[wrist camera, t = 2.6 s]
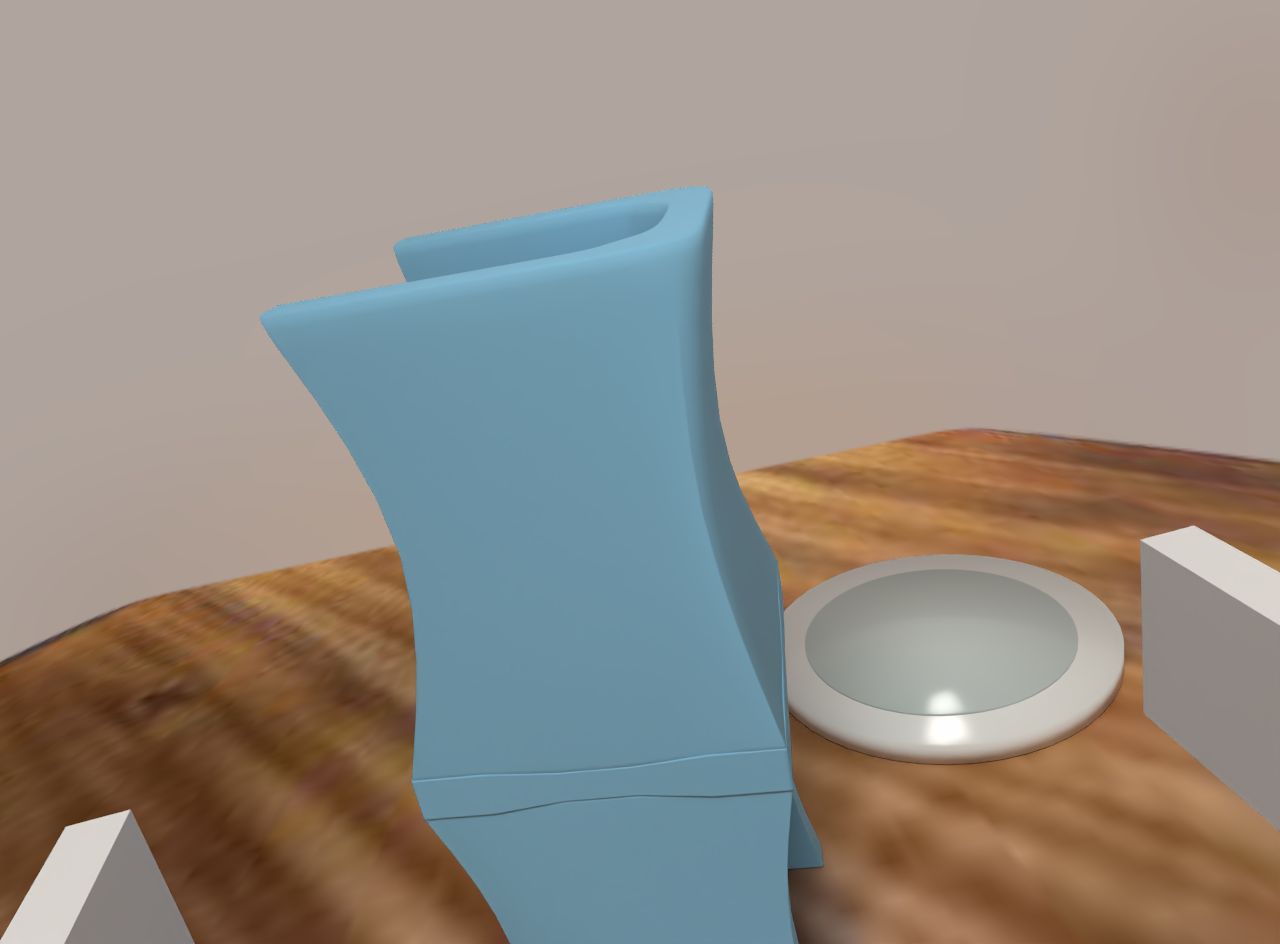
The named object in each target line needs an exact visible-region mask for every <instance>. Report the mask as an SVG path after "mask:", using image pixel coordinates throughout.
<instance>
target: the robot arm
mask: <svg viewBox="0 0 1280 944" xmlns="http://www.w3.org/2000/svg"><path fill="white" fill-rule="evenodd" d="M1140 545H1141V597H1142V650H1143V702H1144V714H1145V715H1146V716H1147V717H1148V718H1149V719H1150V720H1152V721H1153V722H1154V723H1155V724H1156V725H1157V726H1159V727H1160V728H1161V729H1162V730H1163V731H1164V732H1165V733H1167V734H1168V735H1169V736H1170V737H1171V738H1172V739H1174V740H1175V741H1176V742H1177V743H1178V744H1179V745H1180V746H1182V747H1183V748H1184V749H1185V750H1186V751H1187V752H1189V753H1190V754H1191V755H1192V756H1193V757H1194V758H1195V759H1197V760H1198V761H1199V762H1200V763H1201V764H1202V765H1204V766H1205V767H1206V768H1207V769H1208V770H1209V771H1210V772H1212V773H1213V774H1214V775H1215V776H1216V777H1217V778H1219V779H1220V780H1221V781H1222V782H1223V783H1224V784H1225V785H1227V786H1228V787H1229V788H1230V789H1231V790H1232V791H1234V792H1235V793H1236V794H1237V795H1238V796H1239V797H1240V798H1242V799H1243V800H1244V801H1245V802H1246V803H1247V804H1248V805H1250V806H1251V807H1252V808H1253V809H1254V810H1255V811H1257V812H1258V813H1259V814H1260V815H1261V816H1262V817H1263V818H1265V819H1266V820H1267V821H1268V822H1269V823H1270V824H1272V825H1273V826H1274V827H1275V828H1276V829H1277V830H1278V831H1280V573H1279V572H1278V571H1276V570H1274V569H1272V568H1270V567H1269V566H1267V565H1265V564H1263V563H1261V562H1259V561H1258V560H1256V559H1254V558H1252V557H1250V556H1248V555H1247V554H1245V553H1243V552H1241V551H1239V550H1238V549H1236V548H1234V547H1232V546H1230V545H1228V544H1227V543H1225V542H1223V541H1221V540H1219V539H1217V538H1216V537H1214V536H1212V535H1210V534H1208V533H1207V532H1205V531H1203V530H1201V529H1199V528H1197V527H1196V526H1191V527H1187V528H1183V529H1180V530H1176V531H1172V532H1168V533H1165V534H1161V535H1157V536H1153V537H1150V538H1146V539H1142V540H1140ZM0 944H195V943H194V941H193V939H192V937H191V935H190V932H189V930H188V928H187V926H186V924H185V922H184V920H183V918H182V916H181V914H180V912H179V910H178V907H177V905H176V903H175V901H174V899H173V897H172V895H171V893H170V891H169V889H168V887H167V884H166V882H165V880H164V878H163V876H162V874H161V872H160V870H159V868H158V866H157V864H156V861H155V859H154V857H153V855H152V853H151V851H150V849H149V847H148V845H147V843H146V841H145V838H144V836H143V834H142V832H141V830H140V828H139V826H138V824H137V822H136V820H135V818H134V815H133V813H132V811H131V809H130V810H127V811H123V812H119V813H115V814H112V815H108V816H104V817H100V818H97V819H93V820H89V821H85V822H82V823H78V824H74V825H70V826H67V827H65V829H64V831H63V832H62V834H61V836H60V838H59V839H58V841H57V843H56V845H55V846H54V848H53V850H52V852H51V853H50V855H49V857H48V859H47V860H46V862H45V864H44V866H43V867H42V869H41V871H40V872H39V874H38V876H37V878H36V879H35V881H34V883H33V885H32V886H31V888H30V890H29V892H28V893H27V895H26V897H25V899H24V900H23V902H22V904H21V905H20V907H19V909H18V911H17V912H16V914H15V916H14V918H13V919H12V921H11V923H10V925H9V926H8V928H7V930H6V932H5V933H4V935H3V937H2V938H1V940H0Z"/></svg>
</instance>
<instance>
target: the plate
mask: <svg viewBox="0 0 1280 944" xmlns="http://www.w3.org/2000/svg"><path fill="white" fill-rule="evenodd" d="M784 631H785V658H786V676H787V694H788V708H789V712H790V713H791V714H792V715H793V716H794V717H795V718H796V719H797V720H798V721H799V722H801V723H802V724H803V725H805V726H806V727H807V728H809V729H810V730H812V731H813V732H815V733H817V734H819V735H820V736H822V737H824V738H826V739H827V740H830V741H832V742H834V743H837V744H839V745H841V746H844V747H846V748H849V749H852V750H855V751H858V752H861V753H865V754H868V755H872V756H876V757H881V758H886V759H891V760H896V761H904V762H912V763H921V764H967V763H979V762H987V761H994V760H1001V759H1006V758H1010V757H1015V756H1019V755H1023V754H1027V753H1030V752H1033V751H1036V750H1039V749H1042V748H1045V747H1048V746H1051V745H1053V744H1055V743H1057V742H1060V741H1062V740H1064V739H1066V738H1068V737H1071V736H1072V735H1074V734H1075V733H1077V732H1079V731H1080V730H1082V729H1083V728H1085V727H1087V726H1088V725H1089V724H1091V723H1092V722H1093V721H1094V720H1095V719H1097V718H1098V717H1099V716H1100V715H1101V714H1102V713H1103V712H1104V711H1105V710H1106V709H1107V708H1108V706H1109V705H1110V704H1111V703H1112V702H1113V700H1114V698H1115V697H1116V695H1117V693H1118V691H1119V689H1120V687H1121V684H1122V680H1123V676H1124V639H1123V635H1122V631H1121V628H1120V626H1119V624H1118V622H1117V620H1116V618H1115V616H1114V615H1113V614H1112V612H1111V611H1110V610H1109V609H1108V608H1107V606H1106V605H1105V604H1104V603H1103V602H1102V601H1101V600H1099V599H1098V598H1097V597H1096V596H1095V595H1094V594H1092V593H1091V592H1089V591H1088V590H1086V589H1085V588H1083V587H1082V586H1080V585H1079V584H1077V583H1075V582H1073V581H1071V580H1069V579H1067V578H1065V577H1063V576H1061V575H1058V574H1056V573H1053V572H1051V571H1048V570H1046V569H1042V568H1039V567H1036V566H1033V565H1029V564H1025V563H1021V562H1017V561H1012V560H1007V559H1001V558H994V557H987V556H975V555H954V554H945V555H924V556H913V557H905V558H899V559H892V560H887V561H882V562H878V563H873V564H869V565H866V566H863V567H859V568H856V569H853V570H850V571H847V572H845V573H842V574H839V575H837V576H835V577H832V578H830V579H828V580H826V581H824V582H822V583H820V584H818V585H817V586H815V587H813V588H812V589H810V590H808V591H807V592H805V593H804V594H803V595H801V596H800V597H799V598H797V599H796V600H795V601H794V602H793V603H792V604H791V605H790V606H789V607H788V608H786V609H785V611H784Z"/></svg>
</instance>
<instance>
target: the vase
mask: <svg viewBox="0 0 1280 944" xmlns="http://www.w3.org/2000/svg"><path fill="white" fill-rule="evenodd" d="M712 240H713V196H712V191H711V190H710V189H709V188H708V187H687V188H678V189H670V190H664V191H658V192H652V193H647V194H641V195H635V196H630V197H624V198H619V199H614V200H608V201H603V202H597V203H592V204H587V205H581V206H576V207H570V208H565V209H560V210H554V211H549V212H543V213H538V214H533V215H528V216H523V217H517V218H511V219H506V220H501V221H495V222H490V223H484V224H480V225H474V226H468V227H463V228H458V229H452V230H447V231H441V232H436V233H431V234H426V235H421V236H415V237H410V238H405V239H403V240H401V241H399V242H397V243H395V245H394V251H395V254H396V257H397V260H398V263H399V265H400V267H401V270H402V272H403V274H404V277H405V279H406V281H407V283H401V284H395V285H390V286H384V287H379V288H373V289H368V290H362V291H356V292H351V293H345V294H339V295H334V296H328V297H322V298H317V299H311V300H306V301H300V302H294V303H289V304H283V305H277V306H276V307H274V308H272V309H270V310H268V311H267V312H265V313H262V314H261V317H260V320H261V323H262V325H263V326H264V328H265V330H266V331H267V333H268V335H269V336H270V338H271V339H272V341H273V342H274V343H275V345H276V346H277V348H278V349H279V350H280V352H281V353H282V355H283V356H284V357H285V359H286V360H287V361H288V363H289V364H290V366H291V367H292V368H293V370H294V371H295V373H296V374H297V375H298V377H299V378H300V379H301V381H302V382H303V384H304V385H305V386H306V388H307V389H308V390H309V392H310V393H311V394H312V396H313V397H314V399H315V400H316V401H317V403H318V404H319V406H320V407H321V409H322V410H323V412H324V413H325V415H326V416H327V418H328V419H329V420H330V422H331V424H332V425H333V427H334V428H335V430H336V431H337V433H338V434H339V436H340V437H341V439H342V440H343V442H344V443H345V445H346V446H347V448H348V450H349V451H350V453H351V455H352V457H353V458H354V460H355V462H356V464H357V466H358V467H359V469H360V471H361V473H362V474H363V476H364V478H365V480H366V482H367V484H368V485H369V487H370V489H371V491H372V492H373V494H374V496H375V498H376V500H377V502H378V504H379V506H380V509H381V511H382V514H383V516H384V519H385V521H386V523H387V526H388V528H389V530H390V533H391V535H392V537H393V540H394V542H395V545H396V547H397V550H398V552H399V554H400V557H401V562H402V567H403V571H404V576H405V580H406V585H407V590H408V594H409V599H410V604H411V608H412V614H413V627H414V639H415V651H416V663H417V679H416V723H415V739H414V756H413V774H412V780H411V782H412V785H413V788H414V791H415V794H416V797H417V800H418V803H419V806H420V809H421V812H422V815H423V817H424V820H425V821H427V823H428V824H429V825H430V826H431V828H432V829H433V830H434V831H435V833H436V834H437V835H438V836H439V838H440V839H441V840H442V841H443V843H444V844H445V845H446V846H447V847H448V849H449V850H450V851H451V852H452V854H453V855H454V856H455V857H456V859H457V860H458V861H459V863H460V864H461V865H462V867H463V868H464V869H465V871H466V872H467V873H468V875H469V876H470V877H471V879H472V880H473V881H474V883H475V884H476V885H477V887H478V889H479V890H480V892H481V893H482V895H483V896H484V898H485V899H486V901H487V902H488V904H489V906H490V907H491V909H492V910H493V912H494V913H495V915H496V917H497V919H498V921H499V923H500V925H501V927H502V929H503V931H504V933H505V934H506V936H507V938H508V940H509V942H510V944H799V943H798V939H797V934H796V930H795V926H794V922H793V917H792V913H791V905H790V896H789V887H788V869H795V868H810V867H823V857H822V846H821V843H820V841H819V839H818V837H817V835H816V833H815V831H814V829H813V826H812V824H811V822H810V820H809V818H808V816H807V814H806V812H805V809H804V807H803V805H802V802H801V800H800V798H799V795H798V792H797V789H796V786H795V783H794V780H793V770H792V752H791V736H790V722H789V708H788V694H787V676H786V658H785V631H784V610H783V594H782V587H781V581H780V575H779V568H778V562H777V560H776V558H775V556H774V554H773V552H772V550H771V548H770V547H769V545H768V543H767V541H766V539H765V537H764V535H763V534H762V532H761V530H760V528H759V526H758V524H757V522H756V521H755V518H754V516H753V514H752V512H751V510H750V508H749V506H748V504H747V502H746V500H745V498H744V496H743V493H742V491H741V489H740V486H739V484H738V481H737V478H736V476H735V473H734V470H733V468H732V465H731V462H730V459H729V455H728V451H727V447H726V442H725V438H724V434H723V430H722V426H721V422H720V417H719V408H718V400H717V391H716V383H715V375H714V361H713V337H712V242H713V241H712Z"/></svg>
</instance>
